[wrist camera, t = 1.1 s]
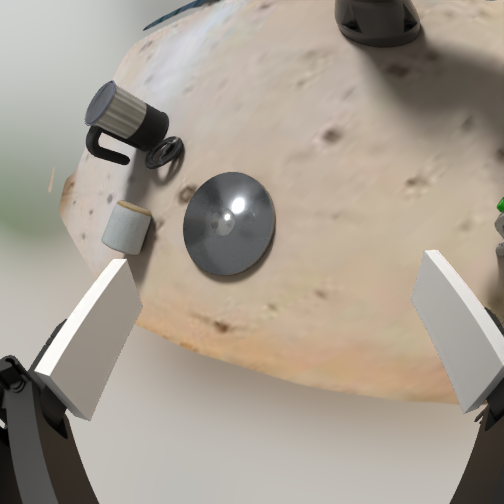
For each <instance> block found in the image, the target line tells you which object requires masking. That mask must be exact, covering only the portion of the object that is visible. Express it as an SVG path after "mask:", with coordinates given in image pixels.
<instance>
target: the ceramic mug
mask: <svg viewBox="0 0 504 504" xmlns="http://www.w3.org/2000/svg"><path fill="white" fill-rule="evenodd" d="M150 220H151V213H150V211H148V210H146V209H144V208H142V207H140V206H137V205H135V204H132V203H129V202H126V201H123V200H120V201H118V202H117V203H116V205H115V207H114V208H113V211H112V213H111V216H110V219H109V221H108V224H107V226H106V229H105V231H104V234H103V236H102V242H103V243H104V244H105V245H107V246H108V247H110V248H111V249H114V250H116V251H119V252H122V253H125V254H130V255H138V254H139V253H140V250H141V247H142V244H143V241H144V238H145V235H146V232H147V229H148V227H149V224H150Z"/></svg>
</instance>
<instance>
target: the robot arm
mask: <svg viewBox="0 0 504 504" xmlns="http://www.w3.org/2000/svg"><path fill="white" fill-rule="evenodd" d="M487 1H495V0H487ZM335 19H336V22H337V24H338V27H339V29H340V30H341V32H342V33H343V34H344V35H346V36H347V37H348V38H350V39H352V40H354V41H356V42H359V43H362V44H366V45H370V46H377V47H393V46H400V45H403V44H406V43H409V42H411V41H412V40H414V39H415V38H416V37H417V36H418V34H419V32H420V20H419V16H418V13H417V11H416V9H415V7H414V5H413V3H412V1H411V0H335ZM410 300H411V302H412V304H413V306H414V307H415V309H416V311H417V313H418V315H419V317H420V318H421V320H422V322H423V324H424V326H425V328H426V330H427V332H428V334H429V336H430V338H431V340H432V342H433V344H434V346H435V348H436V350H437V352H438V355H439V357H440V359H441V361H442V363H443V365H444V368H445V370H446V372H447V374H448V377H449V379H450V381H451V384H452V386H453V389H454V391H455V394H456V396H457V399H458V401H459V404H460V406H461V409H462V411H463V414H465V413H467V412H470V411H472V410H475V409H477V408H479V407H480V405H481V404H482V403H483V402H484V401H485V400H486V399H487V402H488V405H487V407H486V408H485V409H484V410H483V411H482V412H481V413H480V414H479V415H478V416H477V417H476V419H475V422H477V421H478V420H479V419H480V418H481V417H482V416H483V418H482V420H481V421H480V424H481V425H480V428H479V432H478V435H477V438H476V441H475V444H474V448H473V450H472V453H471V456H470V458H469V461H468V464H467V466H466V469H465V471H464V474H463V476H462V478H461V481H460V483H459V485H458V487H457V489H456V492H455V494H454V496H453V498H452V500H451V502H450V504H504V327H503V326H501V323H500V321H499V320H498V318H497V317H496V316H495V314H493V313H492V312H491V311H490V310H489V309H487V308H486V307H485V308H484V307H483V306H482V305H481V303H480V302H479V300H478V299H477V298H476V296H475V295H474V294H473V293H472V291H471V290H470V289H469V287H468V286H467V285H466V283H465V282H464V281H463V280H462V278H461V277H460V276H459V275H458V274H457V272H456V271H455V270H454V269H453V268H452V266H451V265H450V264H449V263H448V262H447V260H446V259H445V258H444V257H443V256H442V255H441V254H440V252H439V251H438V250H424V253H423V257H422V261H421V265H420V268H419V272H418V276H417V279H416V283H415V286H414V289H413V293H412V296H411V299H410ZM142 308H143V305H142V302H141V299H140V297H139V294H138V291H137V288H136V285H135V282H134V279H133V276H132V273H131V270H130V267H129V264H128V261H127V259H113V260H112V261H111V263H110V264H109V265H108V266H107V268H106V269H105V270H104V271H103V273H102V274H101V275H100V276H99V278H98V279H97V280H96V282H95V283H94V284H93V285H92V287H91V288H90V289H89V291H88V292H87V293H86V295H85V296H84V297H83V299H82V300H81V302H80V303H79V304H78V306H77V307H76V308H75V310H74V311H73V312H72V314H71V315H70V317H69V318H68V319H65V320H64V321H63V322H62V323H61V324H59V325H58V326H57V327H56V329H55V330H54V331H53V333H52V334H51V338H49V339H48V340H47V342H46V345H44V346H43V348H42V350H41V351H40V353H39V354H38V356H37V357H36V359H35V360H34V362H33V364H32V365H31V367H30V369H29V370H28V372H27V371H26V370H25V368H24V367H23V366H22V365H21V364H20V362H19V361H18V359H17V358H16V357H15V356H12V355H9V356H5V357H3V358H2V359H0V419H1V420H2V421H3V422H4V423H5V427H4V429H3V428H2V427H1V426H0V504H99V502H98V500H97V498H96V496H95V494H94V491H93V489H92V487H91V484H90V482H89V480H88V477H87V475H86V472H85V469H84V467H83V464H82V461H81V459H80V456H79V453H78V450H77V447H76V444H75V440H74V437H73V434H72V430H71V427H70V423H69V420H68V418H67V416H66V414H65V411H66V409H68V410H69V411H70V412H71V413H73V415H74V416H76V417H79V418H82V419H85V420H88V421H90V420H91V418H92V416H93V413H94V411H95V408H96V406H97V404H98V401H99V399H100V397H101V394H102V392H103V390H104V387H105V385H106V383H107V380H108V378H109V376H110V374H111V372H112V369H113V367H114V365H115V363H116V361H117V359H118V356H119V354H120V352H121V350H122V348H123V346H124V344H125V342H126V340H127V338H128V336H129V334H130V332H131V330H132V328H133V325H134V324H135V322H136V320H137V318H138V316H139V314H140V312H141V310H142Z"/></svg>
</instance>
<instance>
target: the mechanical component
mask: <svg viewBox="0 0 504 504" xmlns="http://www.w3.org/2000/svg"><path fill="white" fill-rule="evenodd" d="M497 209H498V210H499V211H500V212H501V214H500V216H499V217H498V218H497V220H496V221H495V228H496V229H497V231H498V232H499V234H500V235H501V236H502V237H503V239H504V197H503V198H502V199H501V201H500V202H499V204H498V205H497ZM496 253H497V255H498V256H500V257H502V256H504V243H501V244H499V247H497V249H496Z"/></svg>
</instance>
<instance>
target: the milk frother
mask: <svg viewBox="0 0 504 504" xmlns="http://www.w3.org/2000/svg"><path fill="white" fill-rule="evenodd" d="M168 122H169V119H168V116H167V114H166V113H164V112H160V111H159V110H157V109H155V108H153V107H152V106H150V105H148V104H147V103H145V102H143V101H142V100H140V99H139V98H137V97H135V96H134V95H132V94H130V93H129V92H127V91H125V90H124V89H122V88H120V87H119V86H117V85H116V84H115V82H114V81H110V82H108V83H106V84H105V85H104V86H102V87H101V88H100V89H99V91H98V92H97V93H96V95H95V96H94V98H93V99H92V101H91V103H90V105H89V107H88V109H87V112H86V115H85V124H86V125H87V126H90V125H91V127H90V129H89V132H88V134H87V137H86V147H87V149H88V151H89V152H90V153H91V154H92V155H94V156H95V157H98V158H101V159H104V160H108V161H111V162H114V163H118V164H121V165H127V164H129V162H130V159H129V157H128V156H126V155H123V154H121V153H118V152H115V151H112V150H109V149H106V148H103V147H100V146H99V144H98V140H99V137H100V135H101V133H102V132H103V133H105V134H107V135H109V136H111V137H113V138H115V139H117V140H119V141H122V142H124V143H126V144H128V145H130V146H133V147H135V148H137V149H140V150H141V151H149V150H150V151H149V152H148V154H147V156H146V160H145V165H146V167H147V168H149V169H155V168H158V167H161V166H163V165H165V164H167V163H168V162H170V161H171V160H172V159H174V158H175V157H176V156H177V155H178V153H179V152H180V151H181V149H182V146H183V142H182V140H181V139H180V138H178V137H175V136H173V137H169V138H167V139H165V140H163V141H162V142H160V141H161V140H162V138H163V137H164V135H165V133H166V131H167V128H168ZM159 142H160V143H159ZM158 143H159V144H158ZM166 144H167V145H166ZM156 145H157V146H156ZM165 145H166V147H165V148H164V150H163V152H162V155H161V156H160V157H159V160H158V161H153V157H154V155H155V154H156V152H157V151H158V150H159V149H161V148H162V147H163V146H165ZM152 149H153V150H152Z"/></svg>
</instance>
